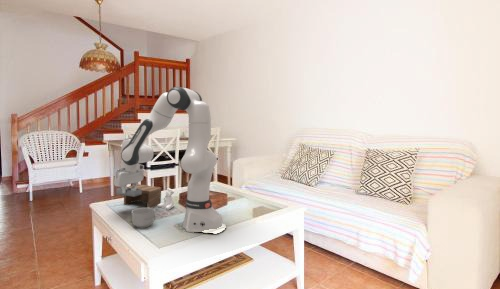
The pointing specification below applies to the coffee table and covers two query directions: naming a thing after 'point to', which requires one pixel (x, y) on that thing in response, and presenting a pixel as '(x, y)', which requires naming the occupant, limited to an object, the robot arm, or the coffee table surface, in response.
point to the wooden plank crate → (146, 195)
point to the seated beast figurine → (167, 200)
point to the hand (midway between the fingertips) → (129, 191)
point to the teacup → (143, 217)
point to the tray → (129, 192)
